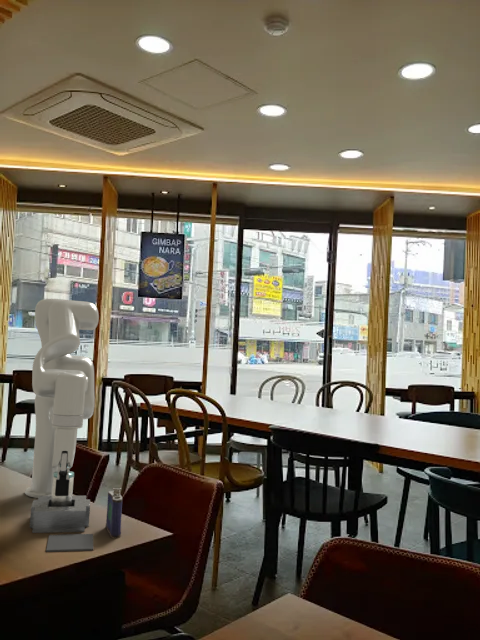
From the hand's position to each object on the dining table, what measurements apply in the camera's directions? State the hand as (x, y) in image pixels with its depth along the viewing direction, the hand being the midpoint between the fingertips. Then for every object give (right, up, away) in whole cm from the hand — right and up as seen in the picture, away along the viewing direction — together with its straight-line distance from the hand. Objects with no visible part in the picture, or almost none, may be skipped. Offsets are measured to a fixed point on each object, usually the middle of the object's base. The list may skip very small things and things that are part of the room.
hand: (62, 491), depth 142 cm
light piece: (0, -6, 0) cm, 6 cm away
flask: (+14, -9, -5) cm, 17 cm away
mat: (+7, -7, -15) cm, 18 cm away
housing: (0, -8, -1) cm, 8 cm away
